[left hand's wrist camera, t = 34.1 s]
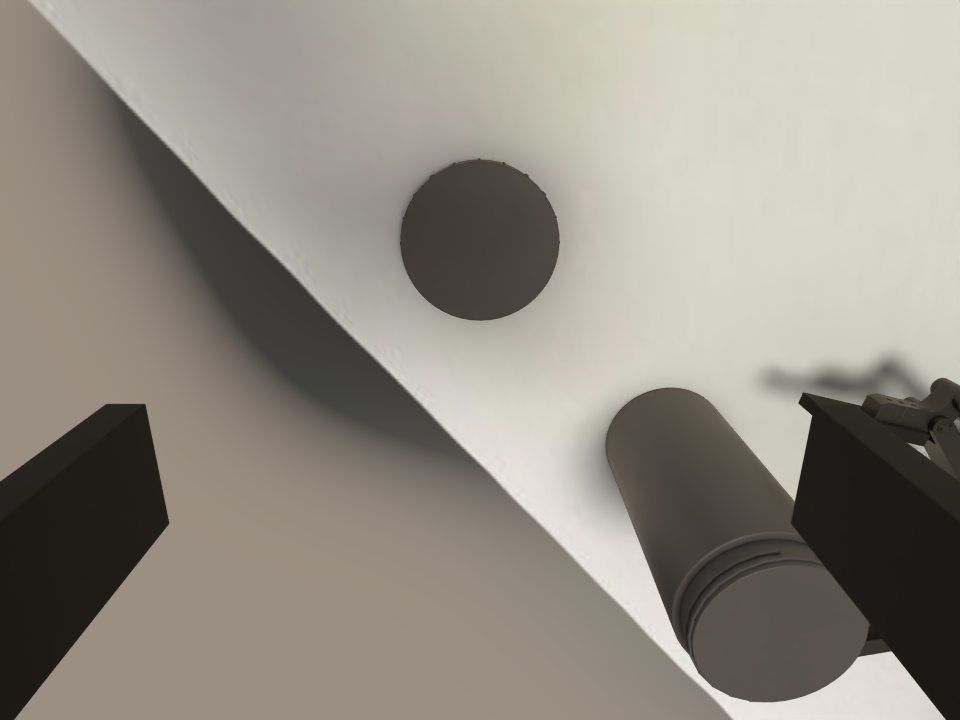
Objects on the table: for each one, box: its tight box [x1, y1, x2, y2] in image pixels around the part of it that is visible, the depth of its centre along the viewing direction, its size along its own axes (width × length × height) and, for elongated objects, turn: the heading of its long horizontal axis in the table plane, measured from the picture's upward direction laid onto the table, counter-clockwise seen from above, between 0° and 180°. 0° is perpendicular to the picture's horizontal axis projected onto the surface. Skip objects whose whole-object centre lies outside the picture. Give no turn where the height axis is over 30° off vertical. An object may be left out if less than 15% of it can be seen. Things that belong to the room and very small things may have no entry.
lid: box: [400, 158, 560, 321], centre depth 39 cm, size 10×10×2 cm
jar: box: [606, 388, 869, 702], centre depth 36 cm, size 8×8×18 cm
